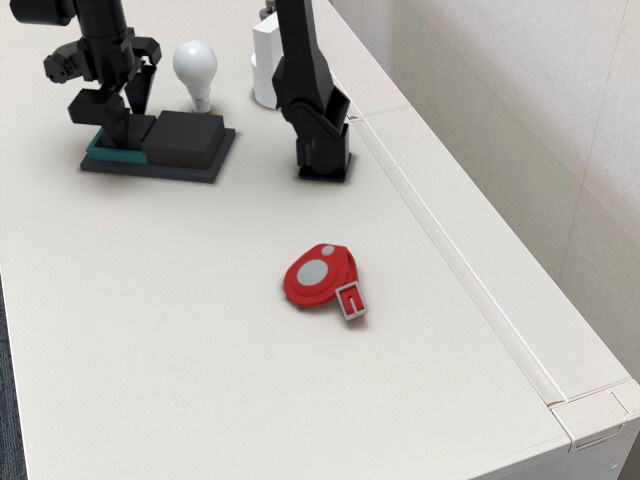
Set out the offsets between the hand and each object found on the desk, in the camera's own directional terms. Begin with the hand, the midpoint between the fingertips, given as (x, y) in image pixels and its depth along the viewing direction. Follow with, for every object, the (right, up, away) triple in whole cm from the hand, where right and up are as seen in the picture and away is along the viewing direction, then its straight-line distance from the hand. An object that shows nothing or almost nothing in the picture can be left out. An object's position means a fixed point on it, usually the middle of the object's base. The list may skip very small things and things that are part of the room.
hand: (131, 134), depth 109 cm
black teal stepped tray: (+4, -2, +1) cm, 5 cm away
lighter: (+20, +18, +19) cm, 33 cm away
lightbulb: (+9, +6, +8) cm, 13 cm away
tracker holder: (+28, -24, -18) cm, 41 cm away
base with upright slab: (+21, +9, +12) cm, 25 cm away
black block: (0, -1, +1) cm, 1 cm away
